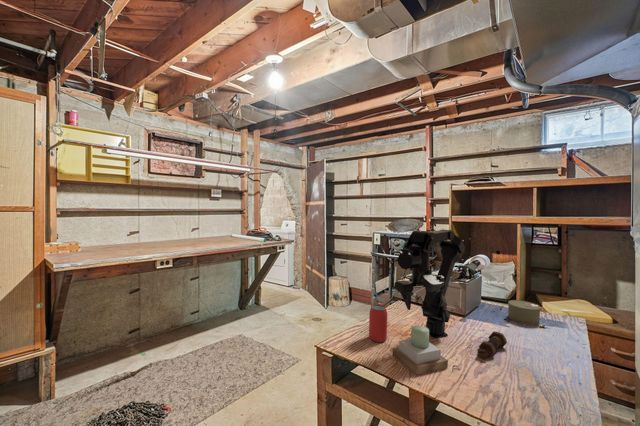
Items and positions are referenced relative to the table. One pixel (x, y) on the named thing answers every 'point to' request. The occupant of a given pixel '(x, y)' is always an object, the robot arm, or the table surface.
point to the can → (524, 312)
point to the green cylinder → (420, 337)
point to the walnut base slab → (420, 367)
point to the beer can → (378, 323)
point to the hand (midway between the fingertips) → (419, 308)
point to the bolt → (491, 344)
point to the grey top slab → (419, 352)
